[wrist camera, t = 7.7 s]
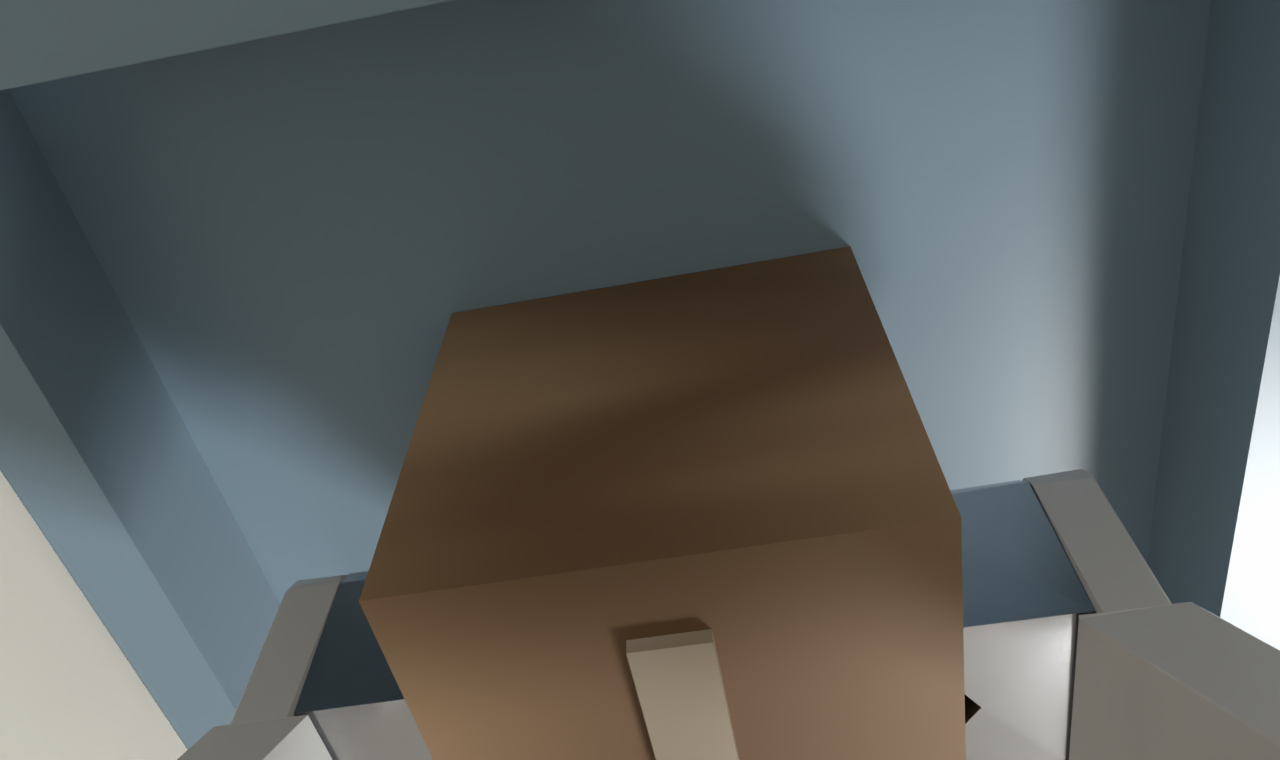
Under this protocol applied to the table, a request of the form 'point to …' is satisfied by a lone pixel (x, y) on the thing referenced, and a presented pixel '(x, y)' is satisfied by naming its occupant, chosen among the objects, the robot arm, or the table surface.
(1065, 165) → the slate tray
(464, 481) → the letter cube
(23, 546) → the table surface
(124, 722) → the table surface
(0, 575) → the table surface
